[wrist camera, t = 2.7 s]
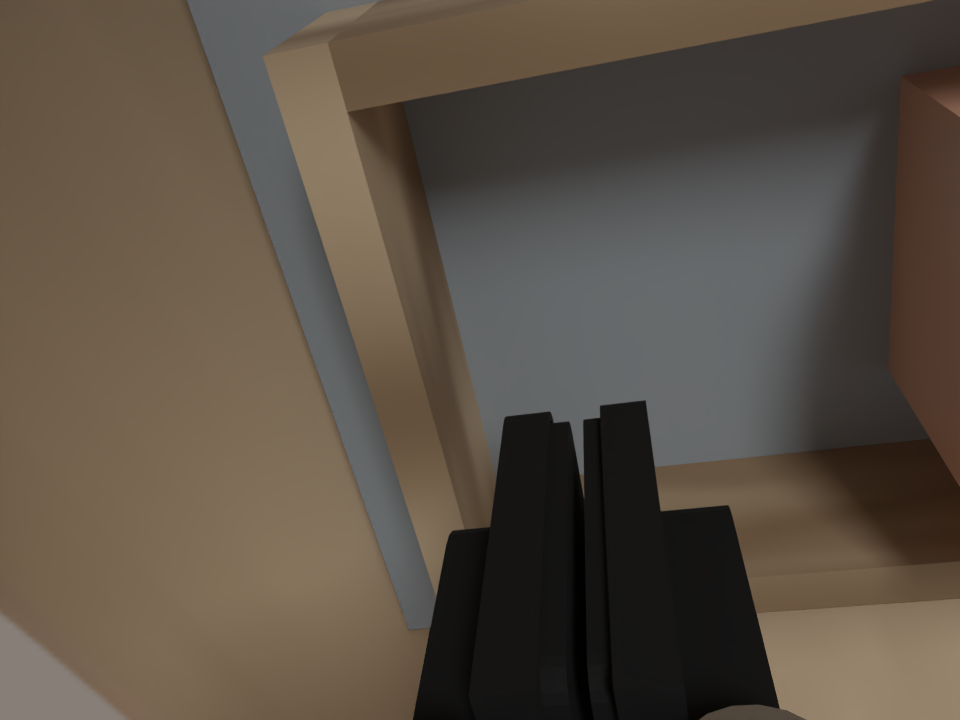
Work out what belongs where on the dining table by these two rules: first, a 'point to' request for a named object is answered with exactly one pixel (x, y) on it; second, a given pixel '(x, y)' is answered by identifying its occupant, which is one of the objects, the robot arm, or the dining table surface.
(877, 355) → the deck
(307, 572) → the dining table surface
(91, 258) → the dining table surface
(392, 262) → the frame
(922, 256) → the cube
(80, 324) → the dining table surface
